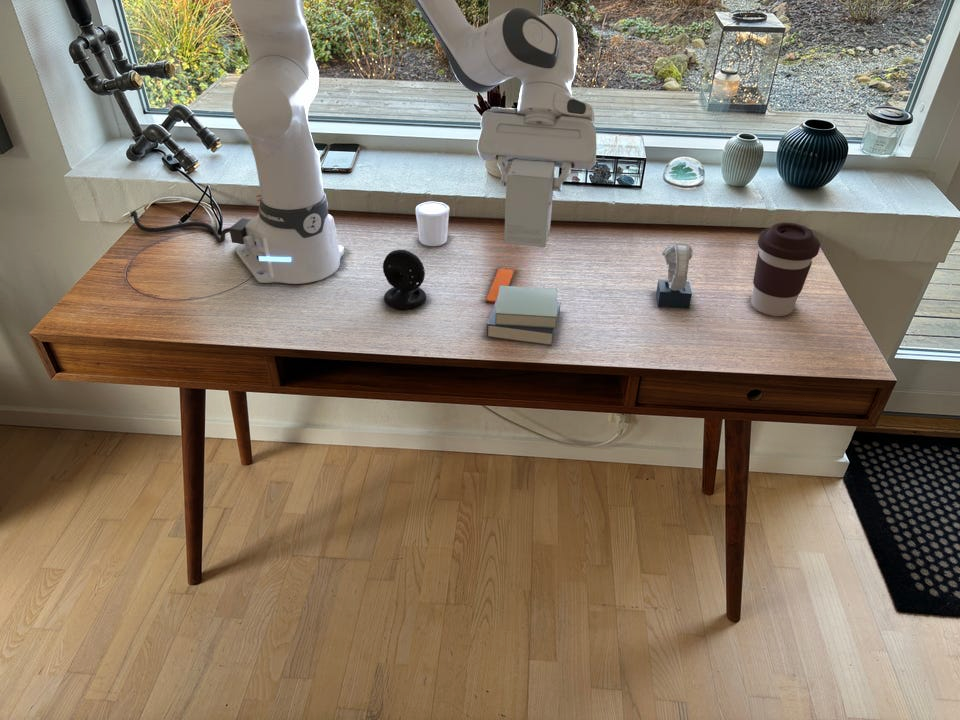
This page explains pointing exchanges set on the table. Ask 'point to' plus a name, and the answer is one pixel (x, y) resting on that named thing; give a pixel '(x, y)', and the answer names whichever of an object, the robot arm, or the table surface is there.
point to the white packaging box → (528, 202)
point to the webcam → (404, 280)
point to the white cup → (432, 223)
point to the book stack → (525, 315)
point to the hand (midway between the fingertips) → (531, 187)
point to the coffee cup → (782, 267)
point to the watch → (675, 278)
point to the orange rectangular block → (499, 283)
